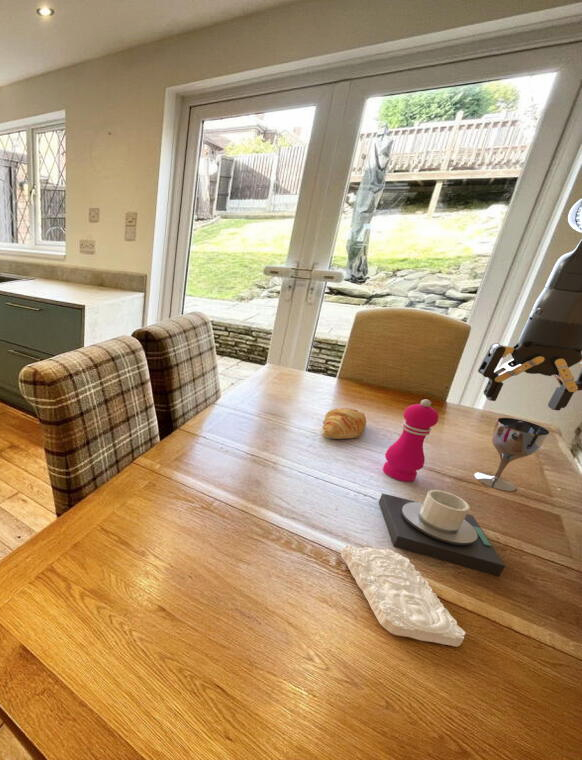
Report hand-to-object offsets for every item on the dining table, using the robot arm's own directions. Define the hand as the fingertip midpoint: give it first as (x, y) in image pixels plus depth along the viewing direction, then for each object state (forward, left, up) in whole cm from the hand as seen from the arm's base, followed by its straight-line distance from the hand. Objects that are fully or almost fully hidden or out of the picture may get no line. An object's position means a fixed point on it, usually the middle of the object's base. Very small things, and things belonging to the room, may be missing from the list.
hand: (520, 403), depth 72 cm
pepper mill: (+9, -12, -26) cm, 30 cm away
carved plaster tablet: (+18, +30, -26) cm, 44 cm away
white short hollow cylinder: (+8, +10, -23) cm, 26 cm away
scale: (+8, +10, -26) cm, 29 cm away
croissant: (+19, -31, -26) cm, 45 cm away
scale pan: (+8, +10, -23) cm, 27 cm away
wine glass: (-11, -19, -26) cm, 34 cm away
